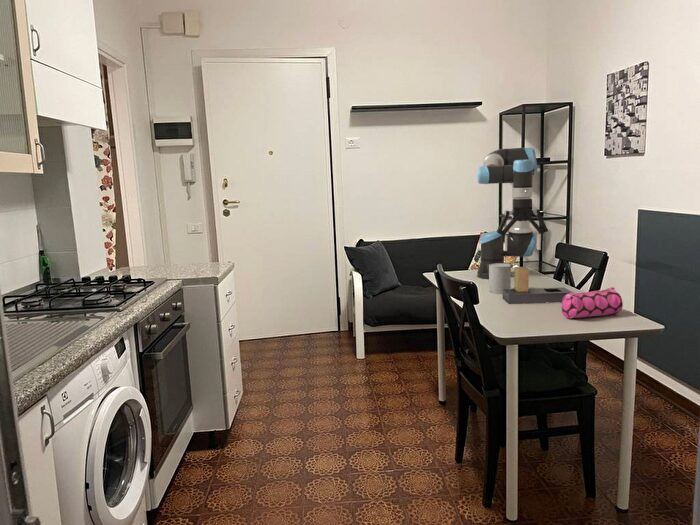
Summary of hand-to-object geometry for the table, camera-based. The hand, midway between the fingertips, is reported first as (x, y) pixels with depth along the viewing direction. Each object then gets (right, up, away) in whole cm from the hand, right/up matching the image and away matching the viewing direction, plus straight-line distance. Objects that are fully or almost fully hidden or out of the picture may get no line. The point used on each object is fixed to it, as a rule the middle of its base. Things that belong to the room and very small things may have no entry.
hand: (521, 250), depth 220 cm
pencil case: (+18, -25, -23) cm, 38 cm away
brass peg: (+1, -21, +3) cm, 22 cm away
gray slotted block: (+7, -21, +3) cm, 22 cm away
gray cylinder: (-3, -19, +21) cm, 28 cm away
